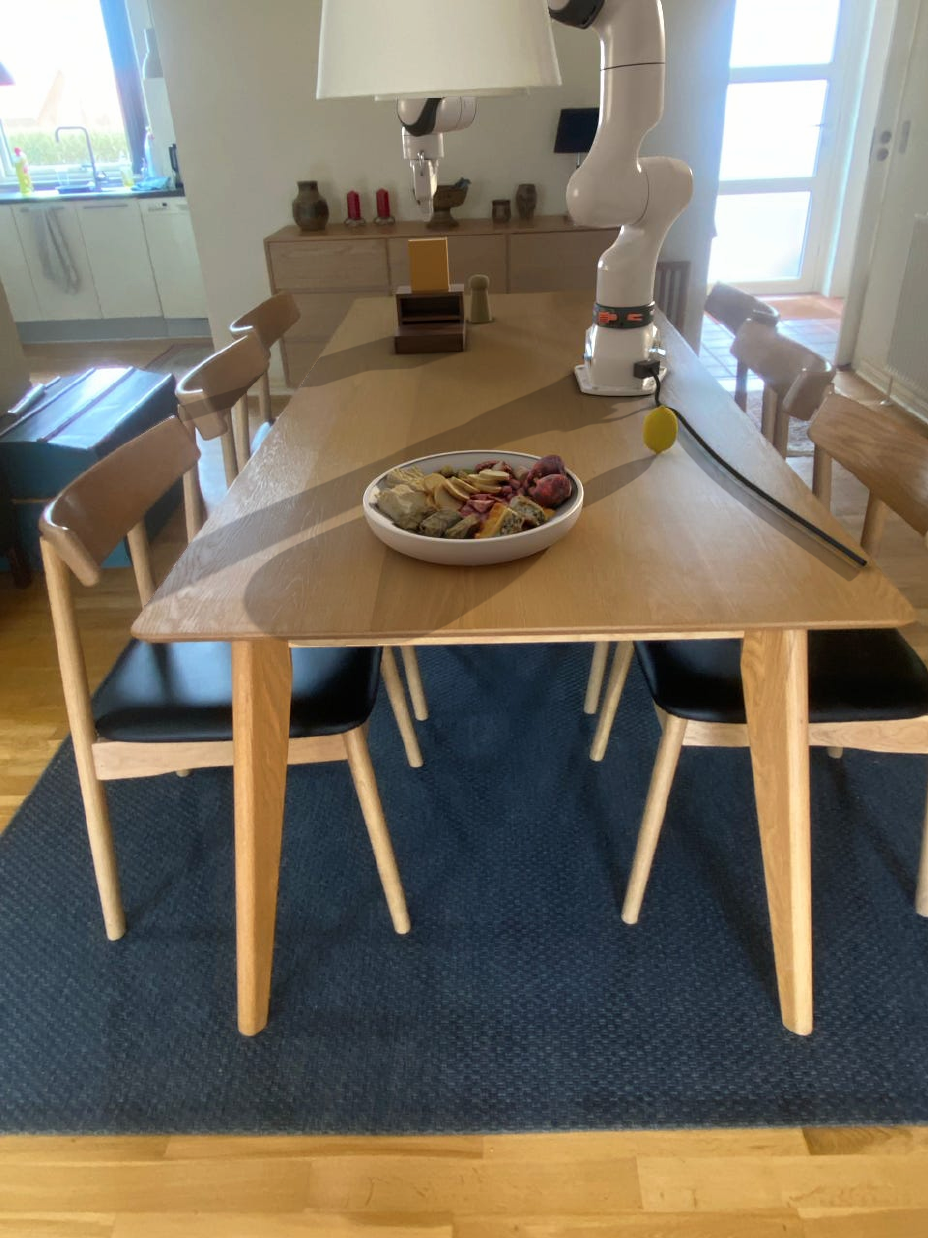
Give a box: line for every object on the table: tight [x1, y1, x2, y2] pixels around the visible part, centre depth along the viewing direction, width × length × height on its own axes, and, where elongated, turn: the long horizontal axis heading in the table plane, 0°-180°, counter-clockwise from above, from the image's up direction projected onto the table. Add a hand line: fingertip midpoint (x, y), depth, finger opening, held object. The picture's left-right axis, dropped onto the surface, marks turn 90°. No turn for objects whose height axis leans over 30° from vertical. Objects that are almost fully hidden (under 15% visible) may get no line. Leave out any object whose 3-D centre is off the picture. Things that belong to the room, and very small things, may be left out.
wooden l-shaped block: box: [393, 283, 467, 355], centre depth 196 cm, size 20×16×11 cm
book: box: [406, 236, 450, 291], centre depth 195 cm, size 4×9×11 cm, turn 88°
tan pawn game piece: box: [468, 274, 493, 324], centre depth 212 cm, size 6×6×11 cm
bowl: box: [362, 449, 584, 566], centre depth 113 cm, size 30×30×8 cm
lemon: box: [642, 404, 679, 455], centre depth 131 cm, size 6×6×8 cm
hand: (428, 218), depth 189 cm, fingers open, 8 cm apart
